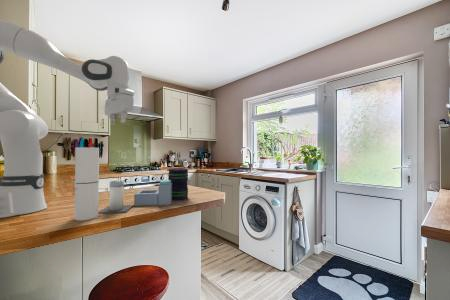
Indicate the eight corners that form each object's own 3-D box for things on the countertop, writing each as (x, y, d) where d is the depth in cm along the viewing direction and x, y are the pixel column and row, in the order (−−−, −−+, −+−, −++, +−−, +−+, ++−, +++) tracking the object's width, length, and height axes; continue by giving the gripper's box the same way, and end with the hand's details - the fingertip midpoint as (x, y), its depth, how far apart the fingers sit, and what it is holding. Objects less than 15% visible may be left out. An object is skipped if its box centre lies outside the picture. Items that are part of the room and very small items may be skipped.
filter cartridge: (113, 211, 80) (113, 182, 80) (107, 208, 83) (107, 181, 83) (125, 208, 84) (126, 181, 84) (119, 206, 87) (120, 180, 87)
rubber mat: (97, 213, 78) (97, 212, 78) (108, 206, 88) (108, 205, 88) (125, 212, 80) (125, 211, 80) (133, 206, 90) (133, 204, 90)
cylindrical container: (86, 221, 70) (87, 147, 70) (69, 219, 71) (70, 147, 72) (103, 214, 77) (103, 147, 77) (86, 213, 78) (87, 148, 79)
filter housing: (133, 205, 90) (133, 185, 90) (140, 200, 100) (140, 181, 101) (170, 204, 92) (170, 184, 92) (172, 199, 103) (173, 181, 103)
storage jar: (191, 197, 108) (191, 168, 109) (182, 201, 99) (183, 170, 99) (174, 196, 111) (174, 168, 111) (164, 200, 101) (164, 169, 102)
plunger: (159, 197, 92) (159, 181, 92) (161, 195, 96) (161, 180, 96) (169, 197, 92) (169, 181, 93) (170, 195, 97) (170, 180, 97)
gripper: (101, 95, 98) (100, 124, 98) (122, 87, 86) (121, 120, 86) (114, 98, 103) (114, 125, 103) (136, 91, 91) (135, 122, 91)
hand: (117, 123), depth 94 cm, fingers open, 8 cm apart
